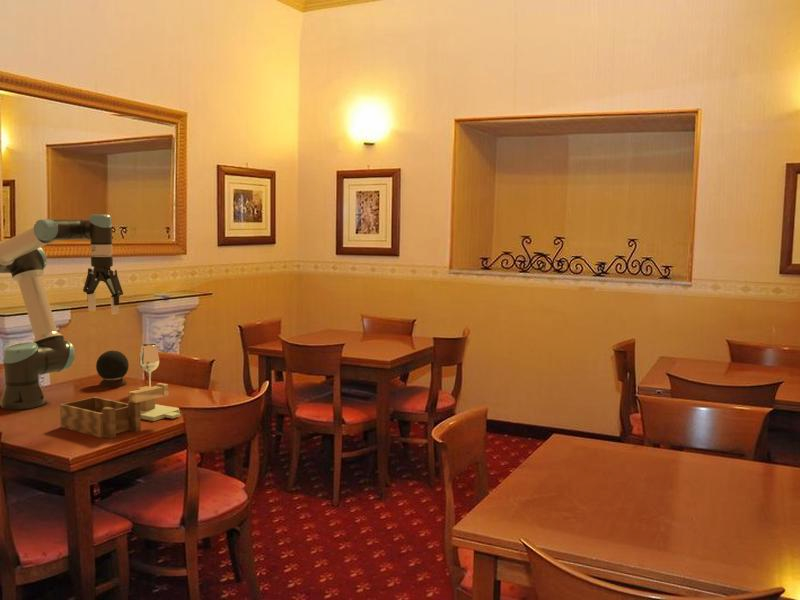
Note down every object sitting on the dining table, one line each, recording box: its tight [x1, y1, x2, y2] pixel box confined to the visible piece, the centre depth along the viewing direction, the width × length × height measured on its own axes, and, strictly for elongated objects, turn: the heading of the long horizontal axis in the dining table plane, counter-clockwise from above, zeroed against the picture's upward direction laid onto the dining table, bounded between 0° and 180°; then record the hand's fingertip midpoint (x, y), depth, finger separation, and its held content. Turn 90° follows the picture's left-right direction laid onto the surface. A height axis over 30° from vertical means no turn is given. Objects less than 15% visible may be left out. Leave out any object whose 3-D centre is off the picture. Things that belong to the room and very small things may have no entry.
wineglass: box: [139, 343, 160, 387], centre depth 313 cm, size 8×8×20 cm
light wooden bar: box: [128, 382, 169, 403], centre depth 262 cm, size 4×14×4 cm, turn 148°
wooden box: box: [59, 396, 142, 440], centre depth 260 cm, size 26×14×10 cm, turn 58°
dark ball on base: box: [95, 350, 130, 389], centre depth 326 cm, size 13×13×15 cm
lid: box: [136, 385, 181, 422], centre depth 280 cm, size 26×14×10 cm, turn 63°
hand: (103, 312), depth 283 cm, fingers open, 13 cm apart
